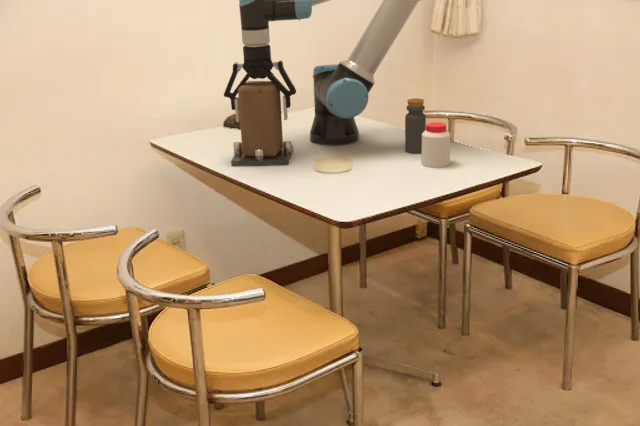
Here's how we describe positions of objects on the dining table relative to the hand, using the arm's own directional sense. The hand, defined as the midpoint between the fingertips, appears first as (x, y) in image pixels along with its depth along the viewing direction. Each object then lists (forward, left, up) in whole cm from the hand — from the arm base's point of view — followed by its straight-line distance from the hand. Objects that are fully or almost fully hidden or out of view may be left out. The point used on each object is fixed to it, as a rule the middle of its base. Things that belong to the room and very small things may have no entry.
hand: (262, 120), depth 222 cm
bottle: (-44, -4, -11) cm, 45 cm away
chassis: (0, 0, -11) cm, 11 cm away
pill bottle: (-48, +9, -11) cm, 51 cm away
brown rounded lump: (+11, -40, -12) cm, 43 cm away
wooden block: (0, 0, -10) cm, 10 cm away
